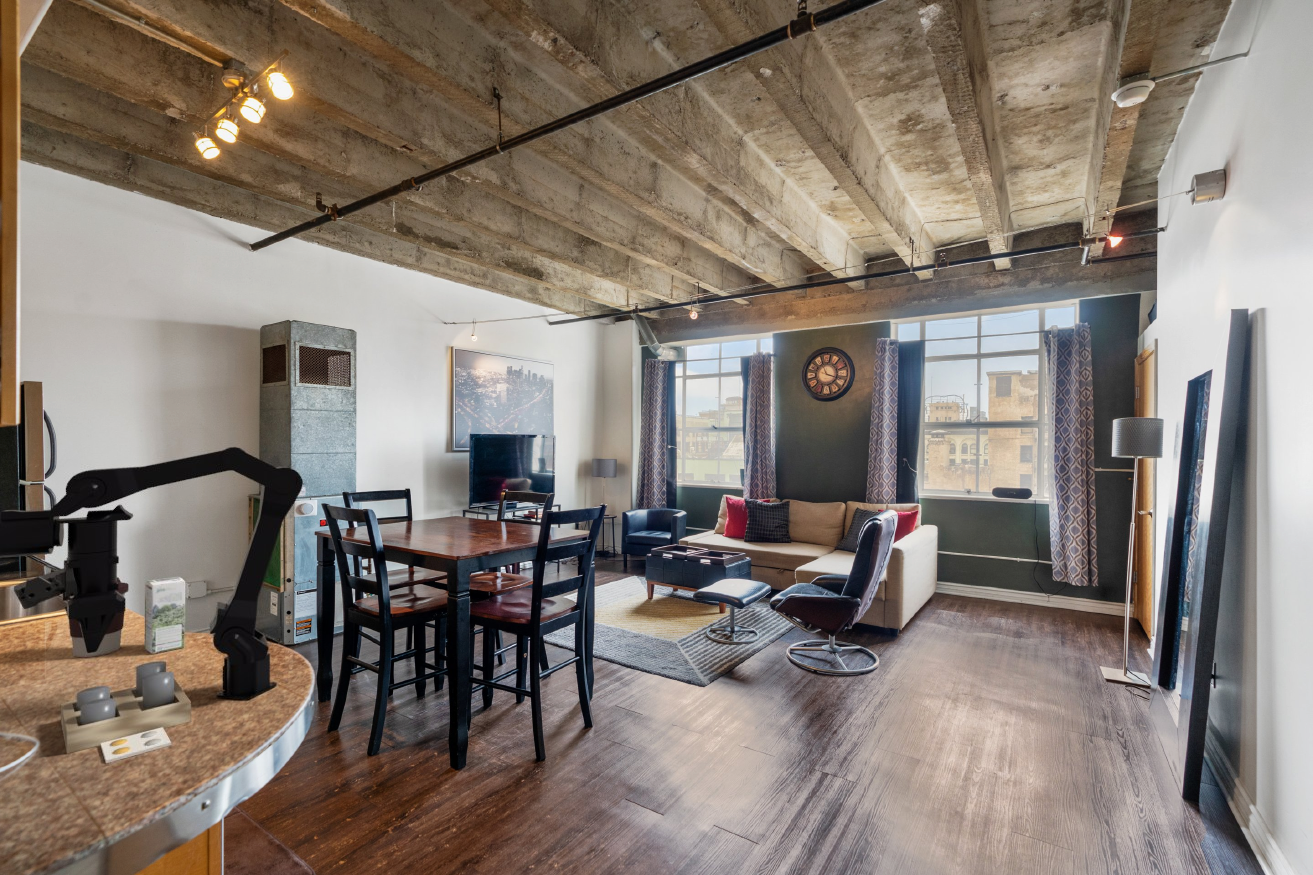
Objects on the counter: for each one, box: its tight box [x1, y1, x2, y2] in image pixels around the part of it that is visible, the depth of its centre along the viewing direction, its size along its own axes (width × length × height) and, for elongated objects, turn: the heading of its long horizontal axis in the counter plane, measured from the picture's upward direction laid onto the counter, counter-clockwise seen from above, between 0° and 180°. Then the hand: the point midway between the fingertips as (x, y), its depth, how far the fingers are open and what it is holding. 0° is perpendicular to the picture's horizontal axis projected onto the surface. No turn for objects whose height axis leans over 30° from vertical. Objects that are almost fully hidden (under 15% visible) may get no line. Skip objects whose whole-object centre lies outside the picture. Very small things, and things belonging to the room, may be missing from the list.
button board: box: [60, 678, 192, 754], centre depth 97 cm, size 14×14×3 cm
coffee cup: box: [67, 576, 129, 658], centre depth 130 cm, size 10×10×15 cm
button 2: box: [81, 698, 115, 726], centre depth 92 cm, size 4×4×4 cm
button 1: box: [76, 685, 111, 711], centre depth 97 cm, size 4×4×4 cm
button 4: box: [143, 671, 175, 708], centre depth 97 cm, size 4×4×4 cm
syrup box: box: [144, 576, 186, 655], centre depth 132 cm, size 6×6×14 cm
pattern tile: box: [100, 727, 172, 764], centre depth 89 cm, size 7×7×1 cm
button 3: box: [135, 660, 167, 695], centre depth 102 cm, size 4×4×4 cm
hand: (91, 652), depth 97 cm, fingers closed
